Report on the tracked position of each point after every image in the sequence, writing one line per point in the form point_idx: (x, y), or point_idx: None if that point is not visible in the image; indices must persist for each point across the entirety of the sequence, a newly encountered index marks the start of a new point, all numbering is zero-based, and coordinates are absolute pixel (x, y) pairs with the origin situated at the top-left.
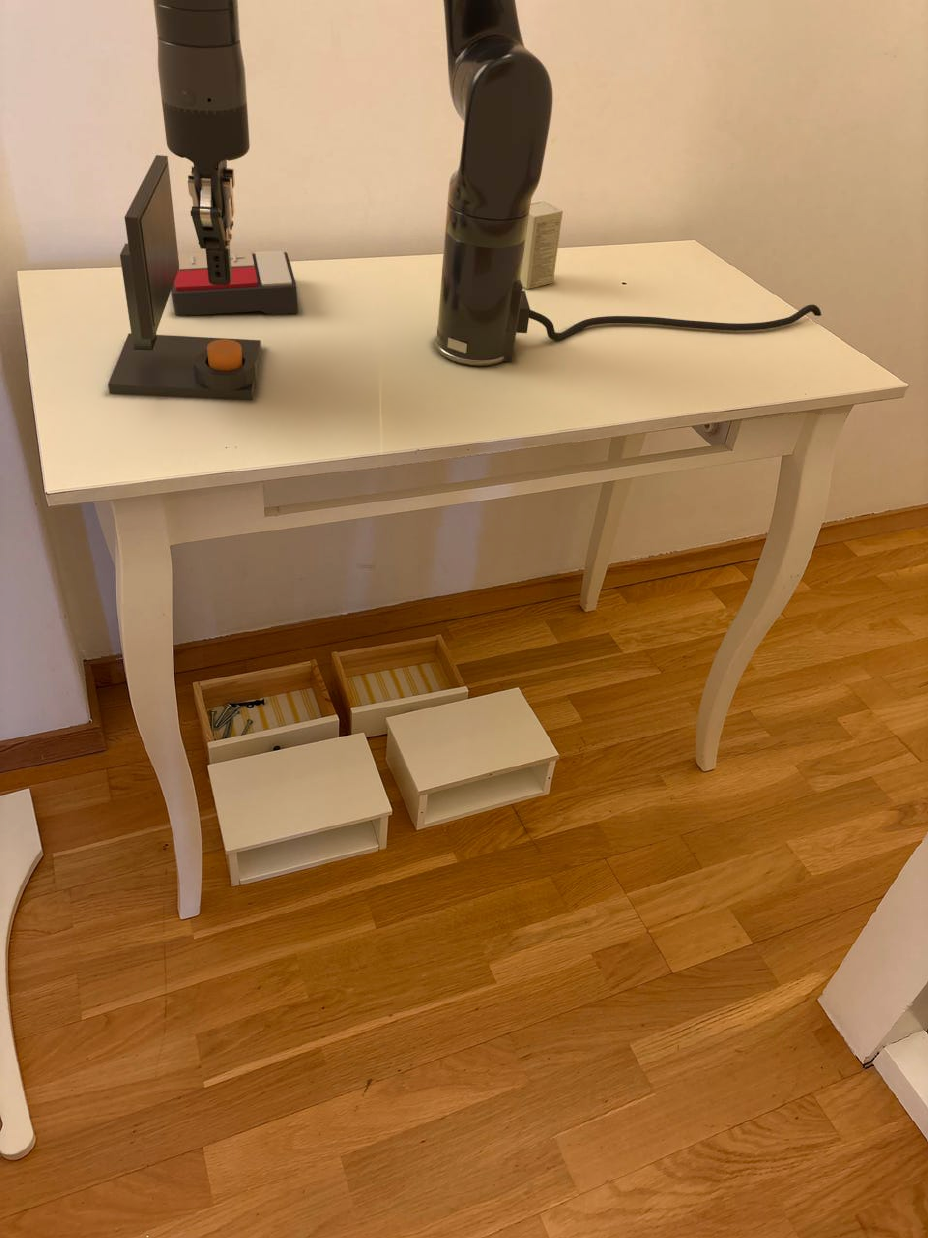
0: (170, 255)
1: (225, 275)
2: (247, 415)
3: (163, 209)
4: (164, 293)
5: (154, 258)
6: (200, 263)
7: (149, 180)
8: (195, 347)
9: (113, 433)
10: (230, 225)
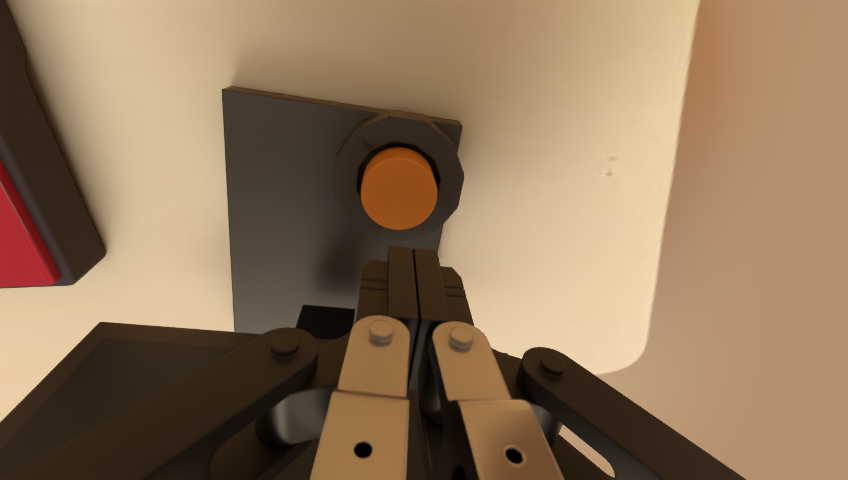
0: None
1: (454, 278)
2: (512, 133)
3: None
4: None
5: (424, 475)
6: None
7: None
8: (278, 227)
9: (529, 323)
10: (526, 402)
